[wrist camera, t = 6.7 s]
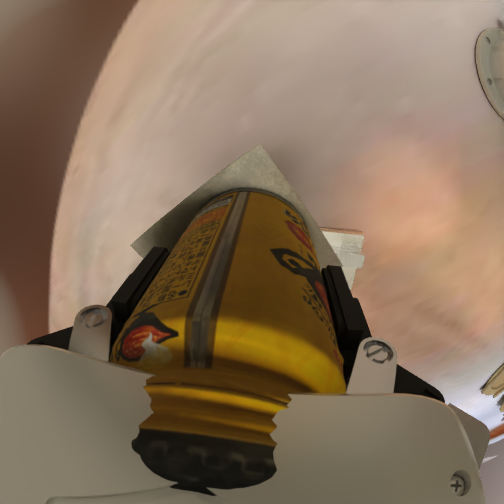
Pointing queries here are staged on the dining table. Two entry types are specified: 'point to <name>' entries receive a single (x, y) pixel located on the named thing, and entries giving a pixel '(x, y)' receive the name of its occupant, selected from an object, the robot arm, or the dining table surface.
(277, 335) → the condiment
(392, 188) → the dining table surface
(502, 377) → the tableware set
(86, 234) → the dining table surface
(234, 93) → the dining table surface
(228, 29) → the dining table surface
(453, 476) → the robot arm
